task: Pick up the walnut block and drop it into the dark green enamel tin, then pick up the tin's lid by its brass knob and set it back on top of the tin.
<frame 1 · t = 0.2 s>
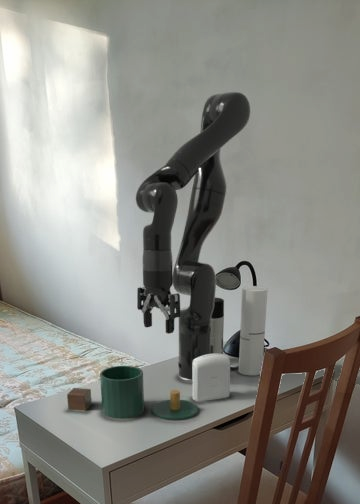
hand: (158, 329, 140), 17 cm above the table, tool pointing down, fingers open, 8 cm apart
tin: (123, 411, 134), on the table
photo printer: (210, 399, 142), on the table
block: (80, 408, 136), on the table
lid: (175, 410, 133), point 1 cm above the table
cylindrical container: (250, 371, 161), on the table
spray can: (212, 362, 169), on the table
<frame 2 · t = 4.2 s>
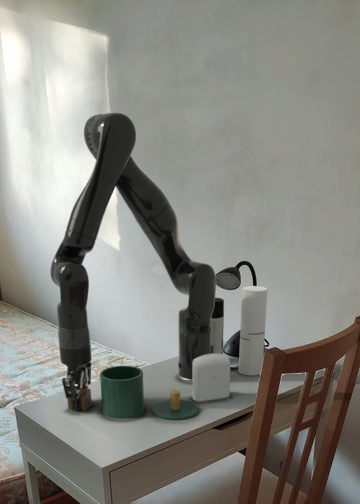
hand: (80, 406, 136), 0 cm above the table, tool pointing down, fingers closed on block, 4 cm apart
block: (80, 408, 136), on the table, touching gripper
everything else where it was.
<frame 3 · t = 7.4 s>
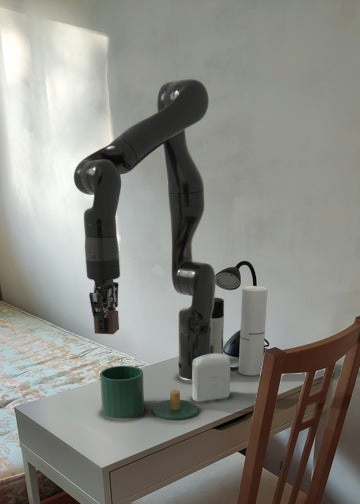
hand: (107, 329, 126), 21 cm above the table, tool pointing down, fingers closed on block, 4 cm apart
block: (107, 331, 126), point 21 cm above the table, touching gripper
everything else where it was.
when the fingers open (9 cm above the table, at t = 11.1 s): block drops 8 cm, resting on tin.
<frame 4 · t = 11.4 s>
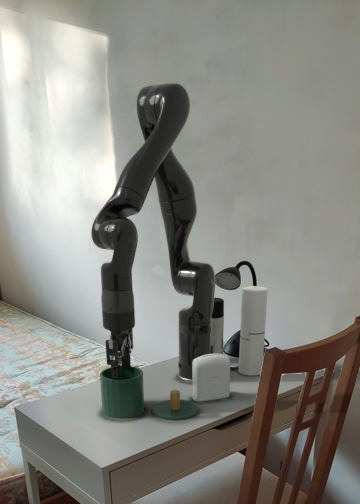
hand: (121, 373, 130), 10 cm above the table, tool pointing down, fingers open, 7 cm apart
block: (123, 410, 134), point 1 cm above the table, touching tin
everything else where it was.
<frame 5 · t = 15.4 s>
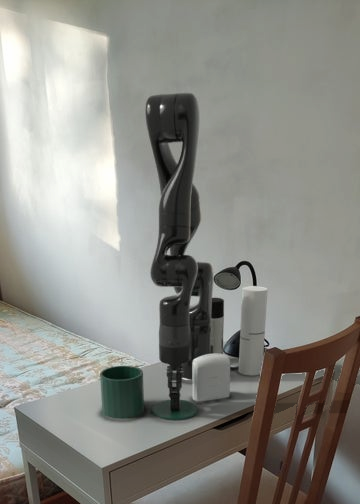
hand: (175, 407, 133), 1 cm above the table, tool pointing down, fingers closed on lid, 2 cm apart
lid: (175, 410, 133), point 1 cm above the table, touching gripper
everything else where it was.
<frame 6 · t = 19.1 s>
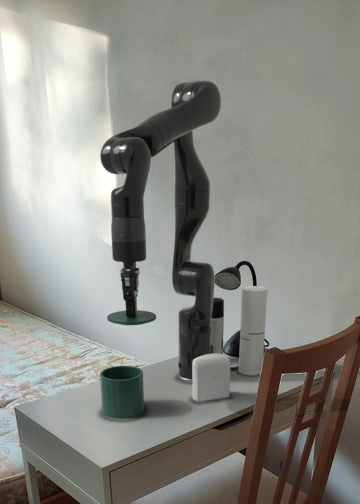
hand: (131, 315, 124), 25 cm above the table, tool pointing down, fingers closed on lid, 2 cm apart
lid: (131, 318, 124), point 24 cm above the table, touching gripper
everything else where it was.
when the fingers open (11 cm above the table, at t = 22.6 s): lid stays where it is, resting on tin.
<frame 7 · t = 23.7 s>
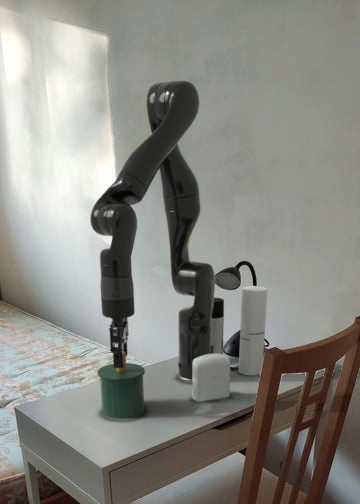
hand: (120, 361, 129), 13 cm above the table, tool pointing down, fingers open, 8 cm apart
lid: (121, 372, 130), point 10 cm above the table, touching tin
everything else where it was.
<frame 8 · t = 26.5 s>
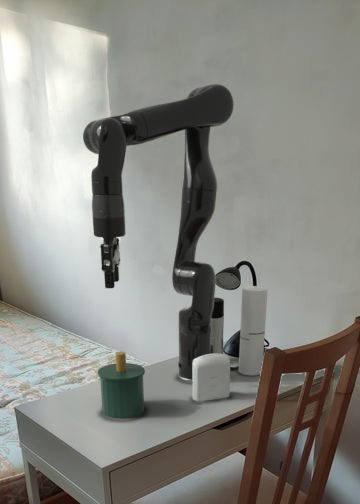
hand: (112, 284, 131), 30 cm above the table, tool pointing down, fingers open, 8 cm apart
nothing on the table moved.
at the end: block inside the target area in the tin (0.0 cm from its centre), point 0.5 cm above the tin's base; lid 0.0 cm off-centre on the tin, point 10.5 cm above the tin's base; lid tilted 0° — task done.
